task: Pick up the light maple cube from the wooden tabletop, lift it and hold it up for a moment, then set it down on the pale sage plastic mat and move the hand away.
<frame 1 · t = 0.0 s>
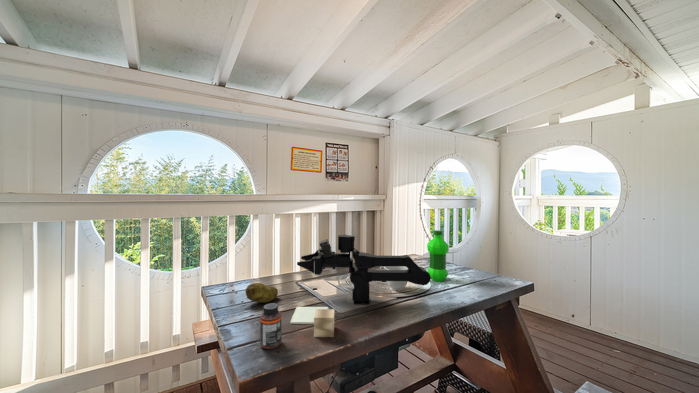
hand: (299, 260, 109), 17 cm above the table, tool horizontal, fingers open, 9 cm apart
supplement bottle: (270, 344, 78), on the table
cube: (324, 332, 85), on the table
mat: (310, 315, 96), on the table
potato: (262, 302, 108), on the table
teacup: (394, 288, 125), on the table
plastic bottle: (437, 280, 137), on the table
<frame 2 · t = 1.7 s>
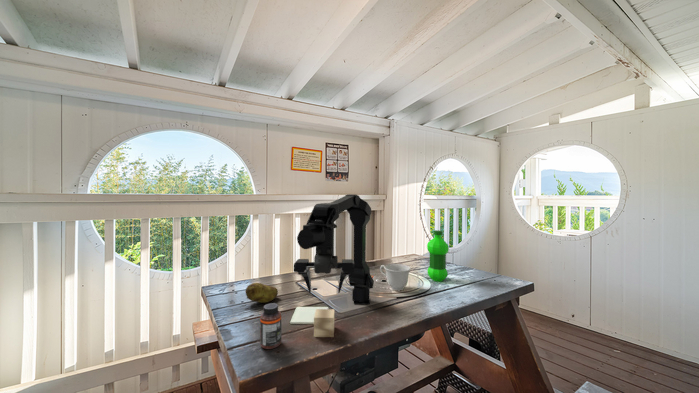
hand: (324, 292, 85), 13 cm above the table, tool pointing down, fingers open, 9 cm apart
nothing on the table moved.
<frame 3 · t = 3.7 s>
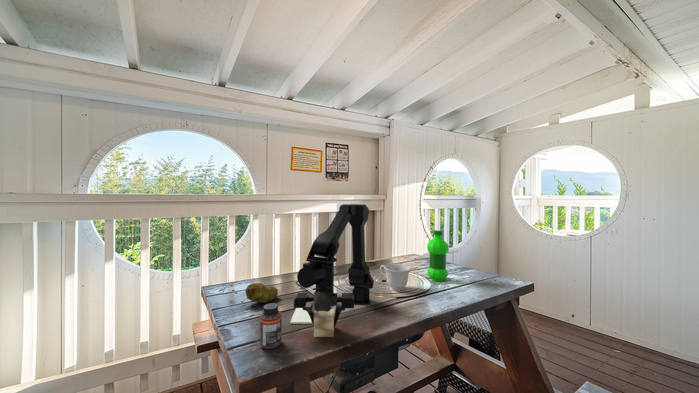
hand: (324, 326, 85), 2 cm above the table, tool pointing down, fingers closed on cube, 6 cm apart
cube: (324, 331, 85), on the table, touching gripper
everything else where it was.
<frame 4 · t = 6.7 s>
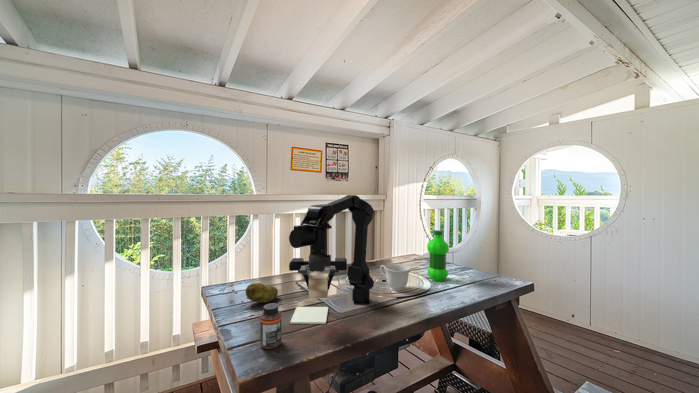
hand: (318, 289, 90), 12 cm above the table, tool pointing down, fingers closed on cube, 6 cm apart
cube: (318, 294, 90), point 10 cm above the table, touching gripper
everything else where it was.
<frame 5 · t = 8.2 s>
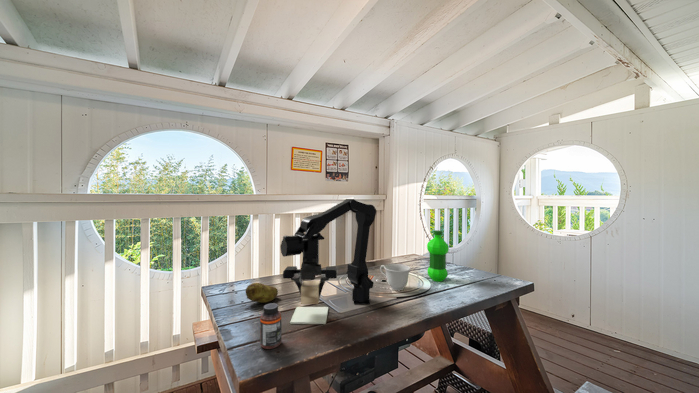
hand: (310, 296, 96), 7 cm above the table, tool pointing down, fingers closed on cube, 6 cm apart
cube: (310, 300, 96), point 6 cm above the table, touching gripper
everything else where it was.
when the fingers open (3 cm above the table, at t = 9.7 s): cube drops 1 cm, resting on mat.
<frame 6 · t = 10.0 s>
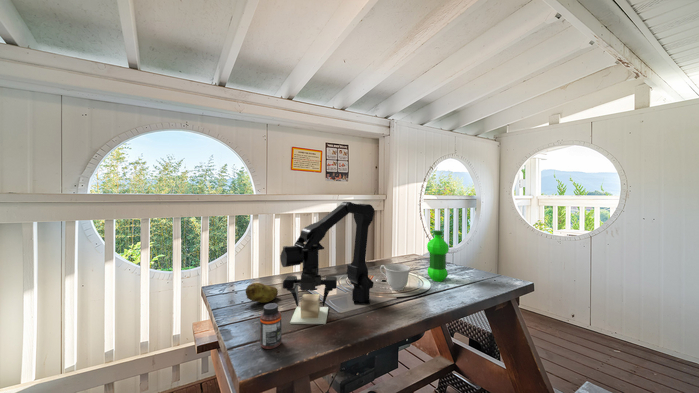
hand: (310, 306, 96), 3 cm above the table, tool pointing down, fingers open, 9 cm apart
cube: (310, 314, 96), point 1 cm above the table, touching mat
everything else where it was.
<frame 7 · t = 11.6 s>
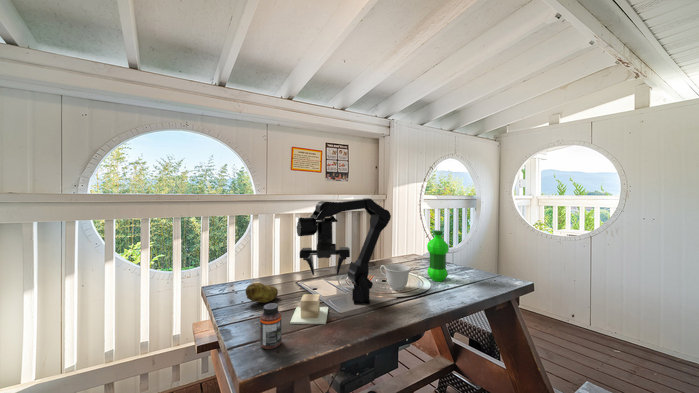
hand: (325, 274, 103), 13 cm above the table, tool pointing down, fingers open, 9 cm apart
nothing on the table moved.
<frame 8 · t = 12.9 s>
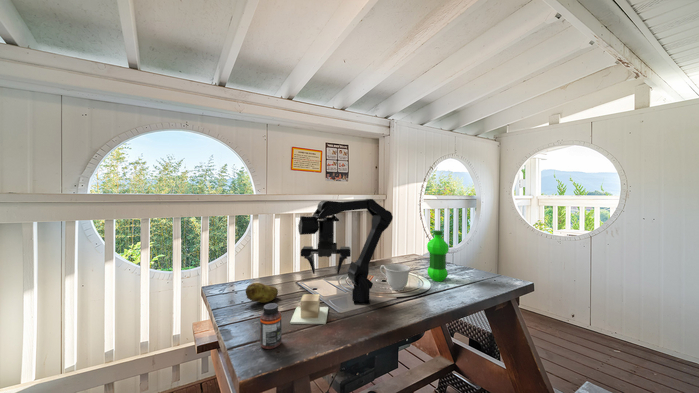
hand: (326, 273, 103), 13 cm above the table, tool pointing down, fingers open, 9 cm apart
nothing on the table moved.
at the end: cube inside the target area on the mat (0.0 cm from its centre), point 0.6 cm above the mat's base; cube tilted 0°; the gripper is holding nothing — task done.
